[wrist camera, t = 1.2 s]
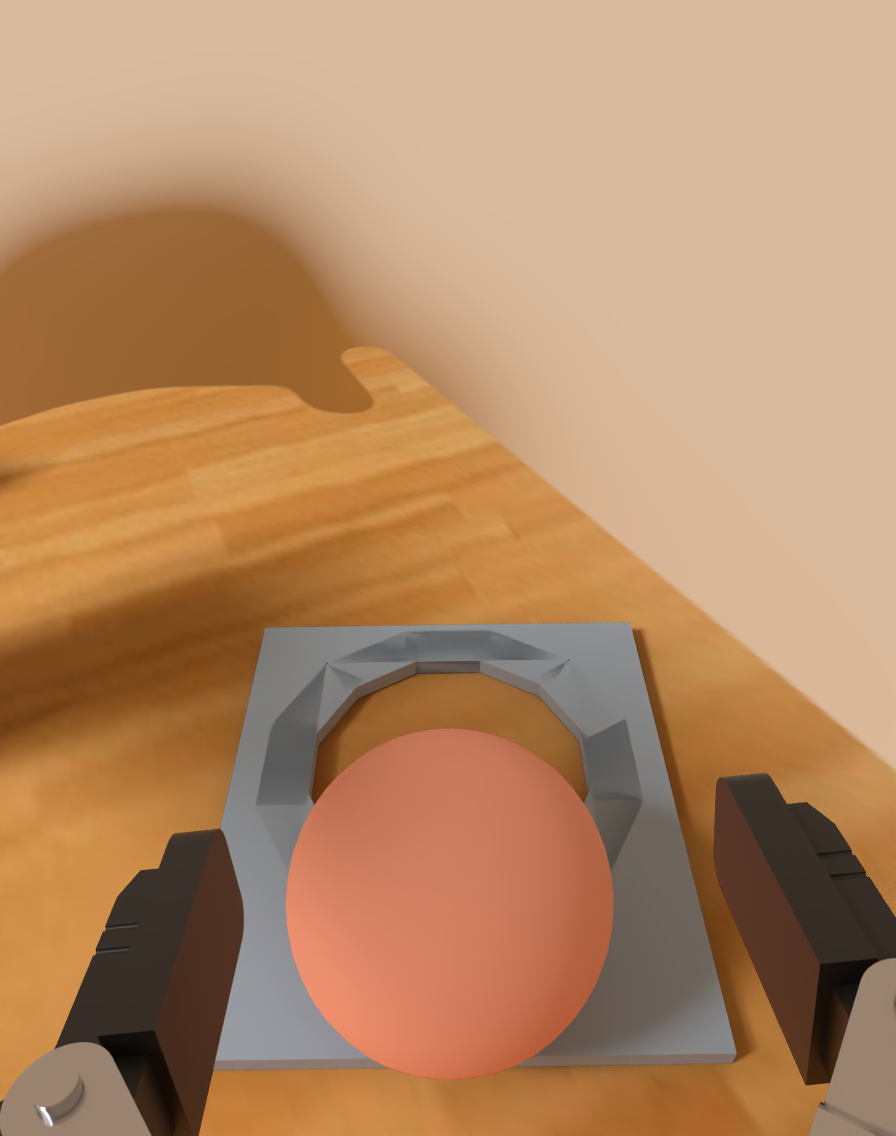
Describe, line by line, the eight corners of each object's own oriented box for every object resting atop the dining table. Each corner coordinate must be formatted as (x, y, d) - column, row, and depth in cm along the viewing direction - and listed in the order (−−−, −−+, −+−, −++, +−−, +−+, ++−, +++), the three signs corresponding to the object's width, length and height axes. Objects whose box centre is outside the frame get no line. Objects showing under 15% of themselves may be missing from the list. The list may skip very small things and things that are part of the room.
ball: (248, 969, 35) (188, 801, 28) (449, 794, 42) (446, 617, 34) (454, 1215, 29) (450, 1086, 21) (654, 963, 35) (707, 793, 28)
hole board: (731, 1063, 33) (736, 1053, 33) (173, 1070, 33) (168, 1061, 33) (627, 634, 52) (630, 622, 51) (267, 639, 52) (265, 627, 51)
